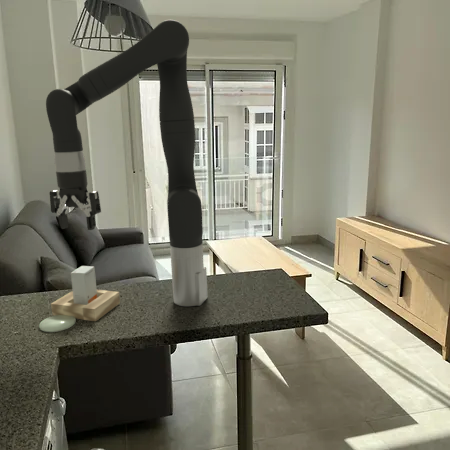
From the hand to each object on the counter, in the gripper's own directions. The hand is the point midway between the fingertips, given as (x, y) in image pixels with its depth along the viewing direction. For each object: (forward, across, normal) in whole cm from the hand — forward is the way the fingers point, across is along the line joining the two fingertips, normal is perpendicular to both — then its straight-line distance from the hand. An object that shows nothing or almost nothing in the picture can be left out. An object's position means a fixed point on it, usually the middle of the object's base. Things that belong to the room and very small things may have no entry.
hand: (77, 228), depth 119 cm
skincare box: (+24, 0, 0) cm, 24 cm away
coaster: (+24, +2, +10) cm, 26 cm away
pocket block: (+24, 0, 0) cm, 24 cm away
